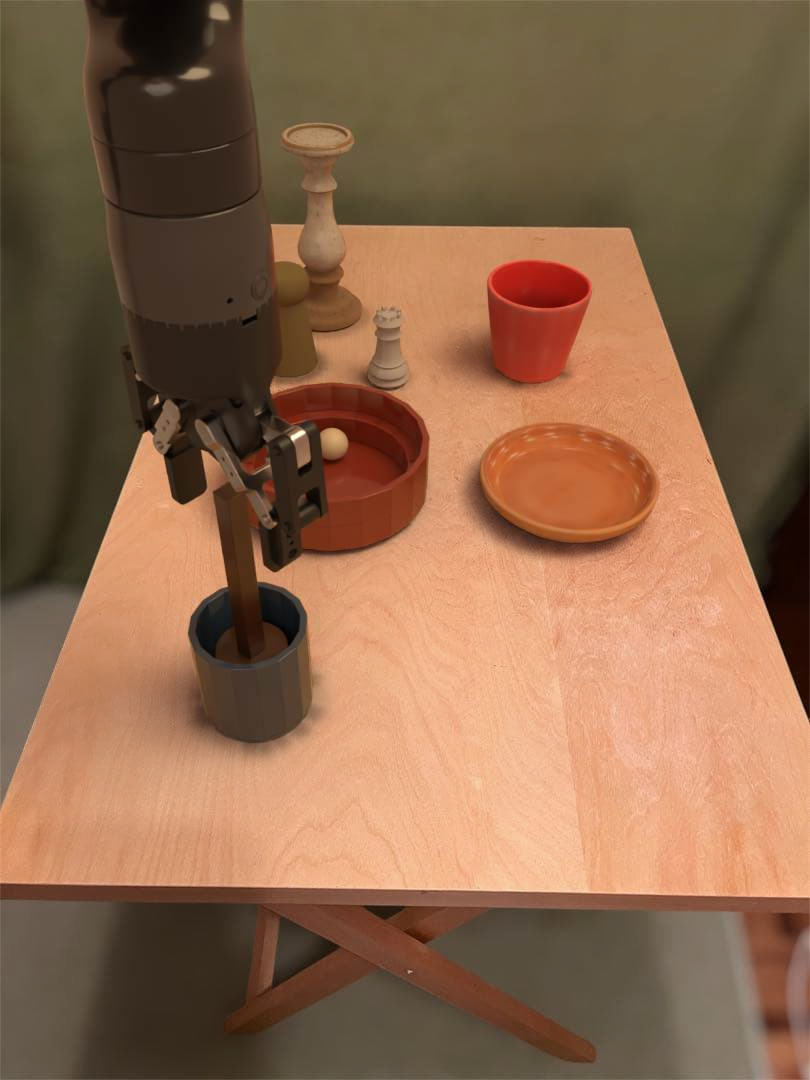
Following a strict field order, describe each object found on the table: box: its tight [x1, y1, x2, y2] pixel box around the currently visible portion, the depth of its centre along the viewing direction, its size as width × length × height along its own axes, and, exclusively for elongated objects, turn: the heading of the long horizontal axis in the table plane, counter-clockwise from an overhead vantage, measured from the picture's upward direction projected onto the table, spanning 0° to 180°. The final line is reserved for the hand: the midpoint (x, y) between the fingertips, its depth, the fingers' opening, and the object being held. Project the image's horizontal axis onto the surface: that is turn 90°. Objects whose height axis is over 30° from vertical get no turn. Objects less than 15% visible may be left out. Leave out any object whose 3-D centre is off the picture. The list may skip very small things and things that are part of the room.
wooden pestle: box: [212, 481, 289, 664], centre depth 59 cm, size 5×5×19 cm
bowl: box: [241, 382, 431, 552], centre depth 81 cm, size 17×17×6 cm
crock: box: [187, 581, 314, 743], centre depth 63 cm, size 8×8×8 cm
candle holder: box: [279, 122, 363, 332], centre depth 100 cm, size 9×9×20 cm
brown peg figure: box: [274, 260, 318, 378], centre depth 96 cm, size 6×6×11 cm
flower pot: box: [486, 259, 593, 384], centre depth 97 cm, size 11×11×10 cm
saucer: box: [479, 421, 661, 544], centre depth 82 cm, size 16×16×3 cm
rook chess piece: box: [367, 305, 410, 390], centre depth 94 cm, size 4×4×8 cm
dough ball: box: [320, 428, 348, 460], centre depth 85 cm, size 3×3×3 cm
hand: (235, 528), depth 55 cm, fingers open, 8 cm apart
